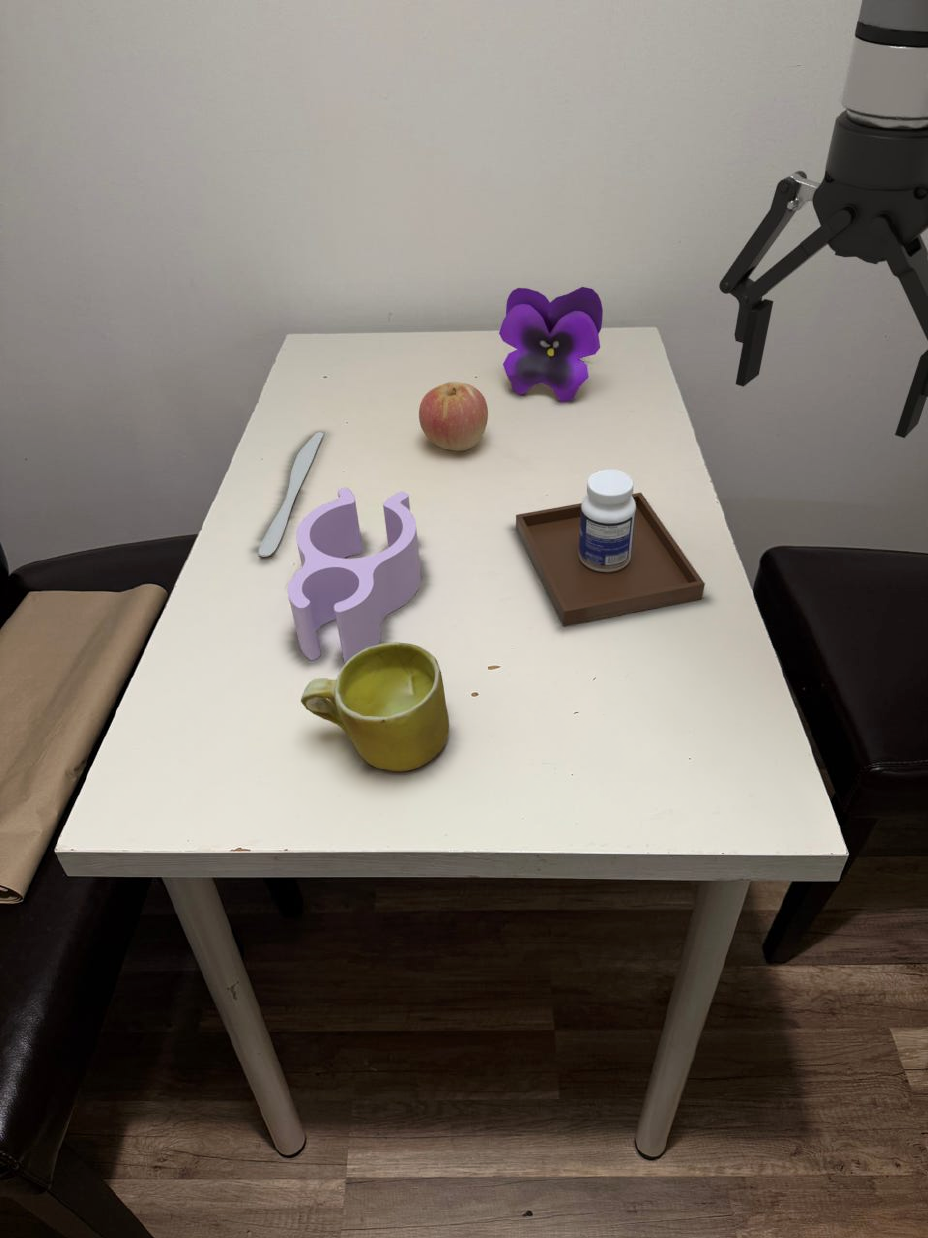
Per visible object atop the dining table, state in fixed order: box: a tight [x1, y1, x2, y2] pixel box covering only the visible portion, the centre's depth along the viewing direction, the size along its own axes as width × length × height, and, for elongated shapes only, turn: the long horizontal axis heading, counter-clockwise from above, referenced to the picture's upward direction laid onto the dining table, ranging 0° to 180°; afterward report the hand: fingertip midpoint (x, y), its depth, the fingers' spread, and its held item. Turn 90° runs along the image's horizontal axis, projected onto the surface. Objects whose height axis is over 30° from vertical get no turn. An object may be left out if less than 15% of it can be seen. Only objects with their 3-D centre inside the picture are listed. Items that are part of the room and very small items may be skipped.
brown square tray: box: [515, 492, 706, 627], centre depth 97 cm, size 17×15×2 cm
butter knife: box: [257, 431, 324, 558], centre depth 110 cm, size 1×27×3 cm
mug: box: [300, 641, 450, 772], centre depth 78 cm, size 12×10×10 cm
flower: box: [498, 286, 604, 403], centre depth 127 cm, size 15×15×14 cm
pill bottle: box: [579, 469, 636, 572], centre depth 94 cm, size 6×6×10 cm
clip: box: [287, 486, 422, 664], centre depth 93 cm, size 20×12×7 cm, turn 169°
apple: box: [418, 381, 489, 451], centre depth 115 cm, size 9×9×8 cm
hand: (822, 403), depth 73 cm, fingers open, 13 cm apart
